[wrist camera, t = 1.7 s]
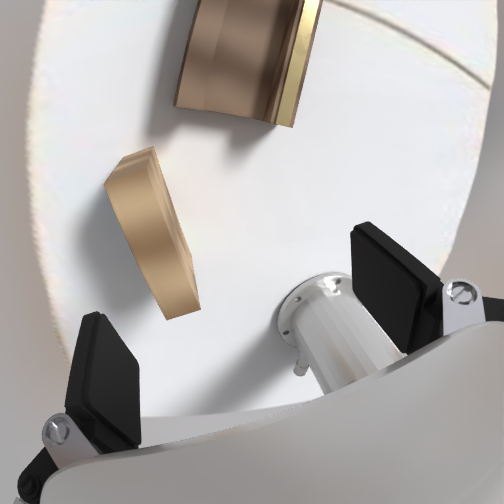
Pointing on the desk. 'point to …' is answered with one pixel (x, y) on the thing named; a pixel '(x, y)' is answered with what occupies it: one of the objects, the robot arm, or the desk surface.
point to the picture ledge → (248, 58)
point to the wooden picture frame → (154, 232)
